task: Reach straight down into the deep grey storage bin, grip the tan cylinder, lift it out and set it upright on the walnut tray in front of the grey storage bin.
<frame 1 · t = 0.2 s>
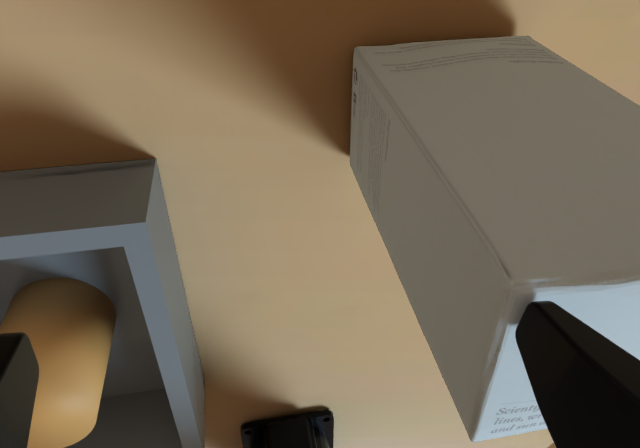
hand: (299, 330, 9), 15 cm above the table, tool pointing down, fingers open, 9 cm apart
skincare box: (437, 95, 24), on the table, touching gripper
tan cylinder: (64, 314, 26), point 1 cm above the table, touching grey storage bin
grey storage bin: (67, 303, 27), on the table
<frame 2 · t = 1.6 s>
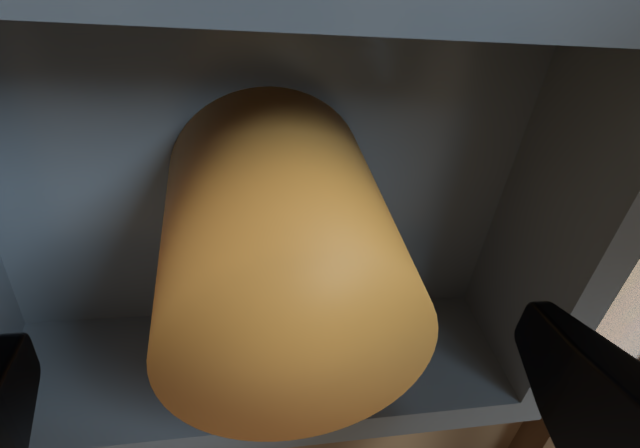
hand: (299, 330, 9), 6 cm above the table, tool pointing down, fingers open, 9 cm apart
walnut tray: (349, 403, 22), on the table
tan cylinder: (267, 177, 14), point 1 cm above the table, touching grey storage bin
grey storage bin: (265, 161, 14), on the table
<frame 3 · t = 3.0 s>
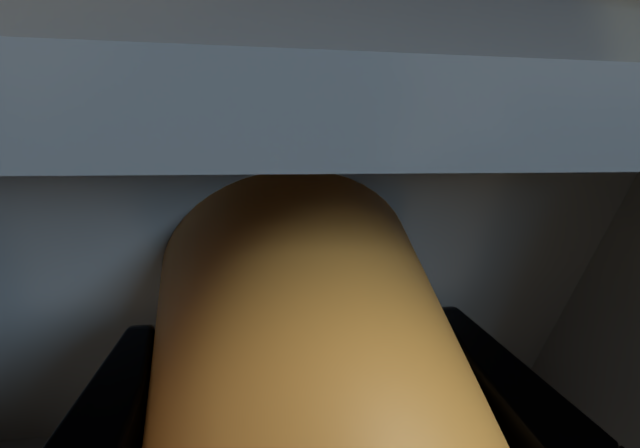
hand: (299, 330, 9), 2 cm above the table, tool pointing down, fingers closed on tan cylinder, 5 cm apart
tan cylinder: (289, 274, 10), point 1 cm above the table, touching grey storage bin, gripper
grey storage bin: (284, 249, 11), on the table
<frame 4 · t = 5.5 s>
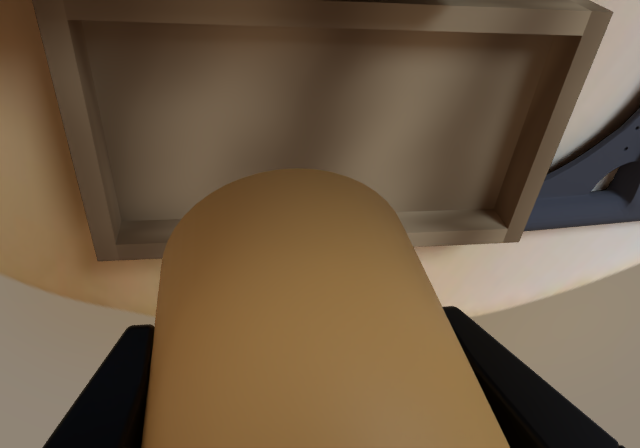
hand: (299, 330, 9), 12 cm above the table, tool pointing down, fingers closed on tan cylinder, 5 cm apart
walnut tray: (323, 115, 20), on the table
tan cylinder: (288, 273, 10), point 11 cm above the table, touching gripper
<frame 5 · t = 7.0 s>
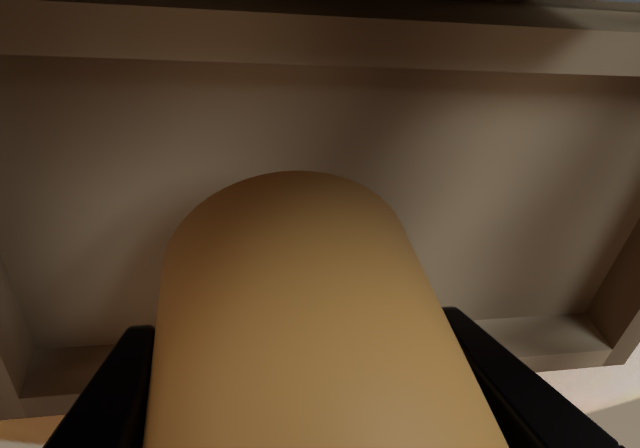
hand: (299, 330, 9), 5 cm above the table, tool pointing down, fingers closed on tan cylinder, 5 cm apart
walnut tray: (349, 191, 13), on the table
tan cylinder: (289, 275, 10), point 3 cm above the table, touching gripper
when the fingers open (4 cm above the table, at t = 8.0 s): tan cylinder drops 1 cm, resting on walnut tray.
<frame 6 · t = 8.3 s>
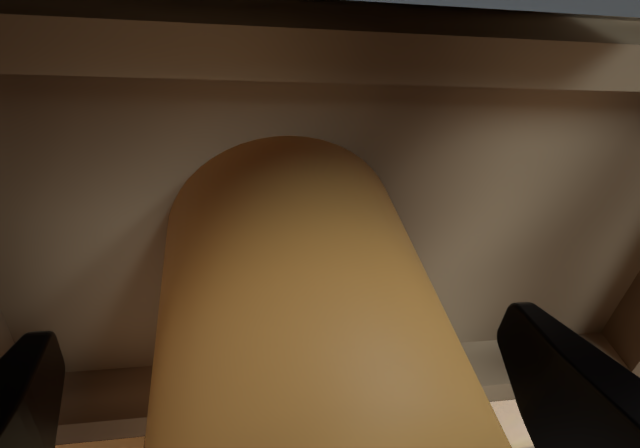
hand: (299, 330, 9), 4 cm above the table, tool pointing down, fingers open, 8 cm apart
walnut tray: (358, 208, 13), on the table
tan cylinder: (283, 235, 11), point 1 cm above the table, touching walnut tray
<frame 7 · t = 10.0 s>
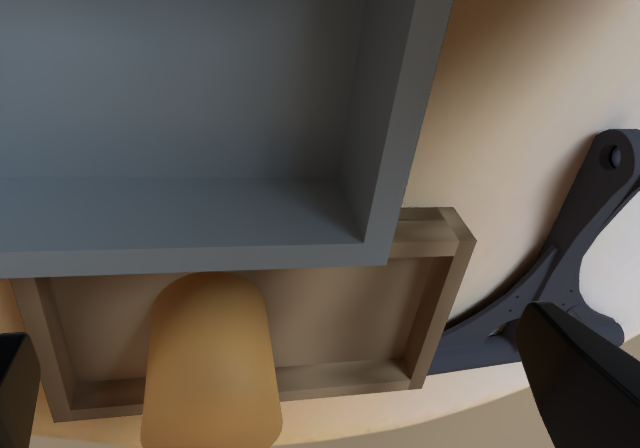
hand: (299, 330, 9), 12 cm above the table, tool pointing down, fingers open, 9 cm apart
walnut tray: (252, 295, 24), on the table
tan cylinder: (210, 312, 23), point 1 cm above the table, touching walnut tray
grey storage bin: (144, 32, 17), on the table
bracket: (548, 248, 27), on the table, touching walnut tray
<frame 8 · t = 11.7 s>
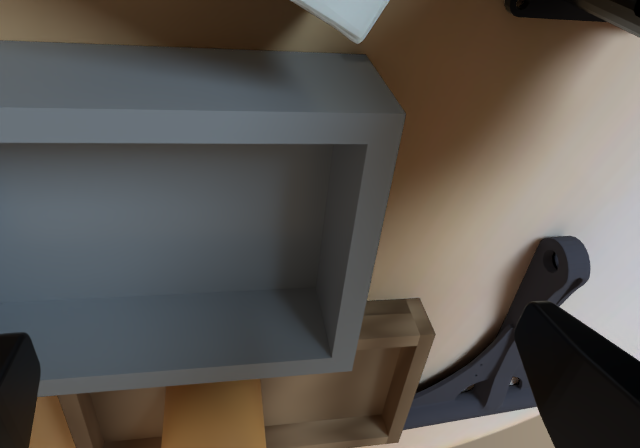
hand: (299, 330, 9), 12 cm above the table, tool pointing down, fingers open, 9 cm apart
walnut tray: (249, 369, 29), on the table
tan cylinder: (214, 387, 28), point 1 cm above the table, touching walnut tray
grey storage bin: (154, 193, 21), on the table
bracket: (508, 322, 31), on the table, touching walnut tray
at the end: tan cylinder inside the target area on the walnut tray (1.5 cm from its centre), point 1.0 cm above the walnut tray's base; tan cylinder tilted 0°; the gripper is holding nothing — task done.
